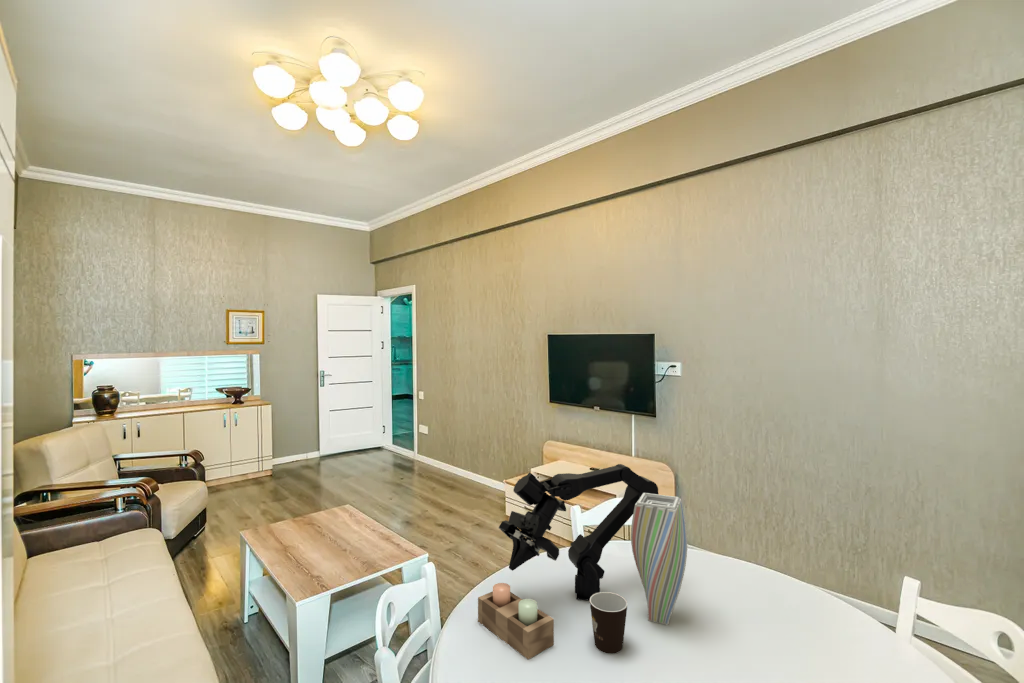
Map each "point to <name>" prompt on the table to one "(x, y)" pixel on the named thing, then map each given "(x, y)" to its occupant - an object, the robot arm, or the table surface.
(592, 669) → the table surface
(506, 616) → the wooden compartment box
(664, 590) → the vase
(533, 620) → the pale green egg
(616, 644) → the brown paper cup
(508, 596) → the peach orange egg
